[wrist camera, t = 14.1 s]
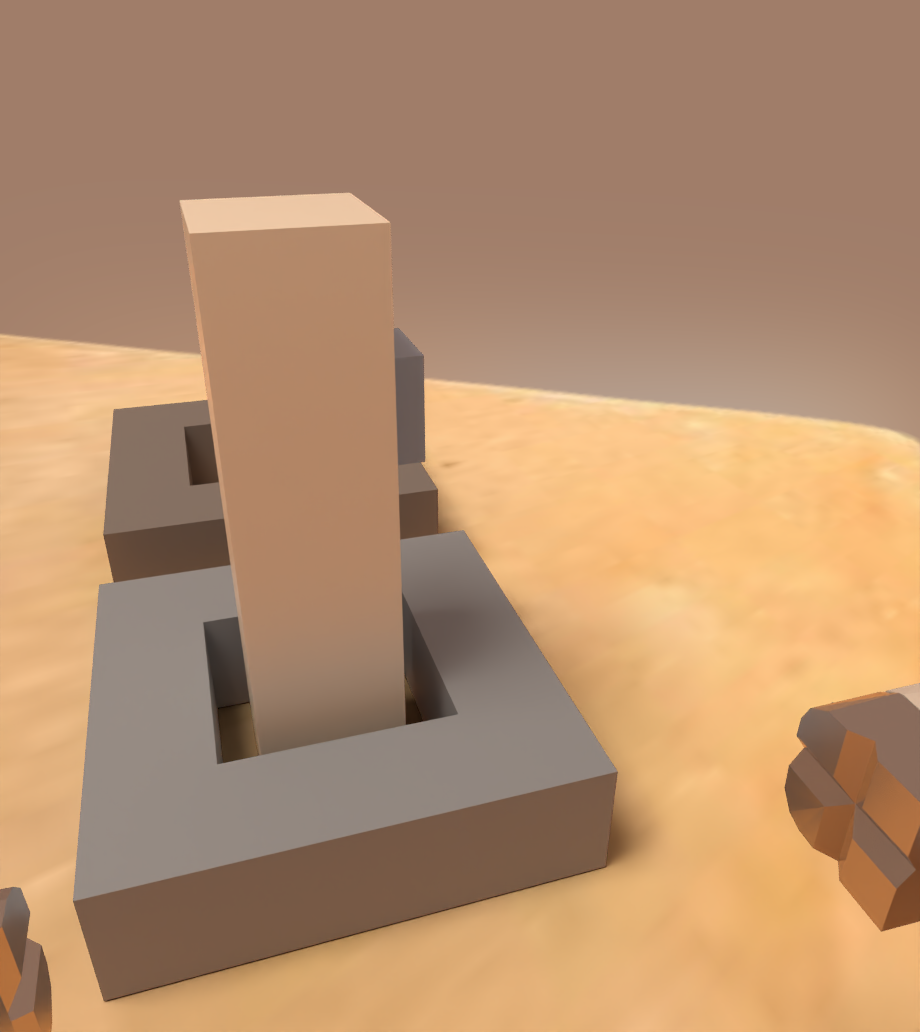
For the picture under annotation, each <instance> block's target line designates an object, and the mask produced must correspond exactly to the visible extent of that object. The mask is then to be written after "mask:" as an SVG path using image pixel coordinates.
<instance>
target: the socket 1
mask: <svg viewBox="0 0 920 1032" xmlns="http://www.w3.org/2000/svg"><path fill="white" fill-rule="evenodd" d="M398 485H399V518H400V540H402V539H408V538H415V537H422V536H428V535H435V534H438V489H437V488H436V486H435V484H434V483H433V481H432V480H431V478H430V477H429V475H428V473H427V472H426V470H425V469H424V467H423V466H422V464H421V463H420V462H419V463H411V464H404V465H398ZM103 535H104V540H105V544H106V549H107V553H108V558H109V563H110V567H111V572H112V576H113V581H114V583H115V582H121V581H128V580H135V579H141V578H148V577H155V576H161V575H168V574H175V573H181V572H188V571H195V570H201V569H208V568H215V567H221V566H228V565H231V564H230V557H229V550H228V543H227V535H226V528H225V521H224V514H223V507H222V500H221V493H220V486H219V478H218V471H217V464H216V457H215V450H214V443H213V436H212V429H211V421H210V414H209V407H208V400H203V401H194V402H184V403H174V404H164V405H154V406H144V407H134V408H124V409H114V413H113V425H112V437H111V450H110V462H109V474H108V486H107V498H106V510H105V522H104V534H103Z"/></svg>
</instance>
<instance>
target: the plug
mask: <svg viewBox="0 0 920 1032" xmlns="http://www.w3.org/2000/svg"><path fill="white" fill-rule="evenodd" d="M180 207H181V215H182V222H183V228H184V236H185V243H186V250H187V258H188V265H189V271H190V279H191V286H192V293H193V300H194V307H195V315H196V322H197V329H198V336H199V342H200V349H201V357H202V364H203V372H204V379H205V386H206V393H207V400H208V407H209V414H210V421H211V429H212V436H213V443H214V450H215V457H216V464H217V471H218V478H219V486H220V493H221V500H222V507H223V514H224V521H225V528H226V535H227V543H228V550H229V557H230V564H231V571H232V578H233V585H234V592H235V600H236V607H237V614H238V621H239V628H240V635H241V642H242V649H243V657H244V664H245V671H246V678H247V685H248V692H249V699H250V706H251V714H252V721H253V728H254V733H255V739H256V744H257V750H258V756H260V755H265V754H270V753H274V752H279V751H284V750H289V749H294V748H298V747H303V746H308V745H313V744H318V743H323V742H327V741H332V740H337V739H342V738H347V737H351V736H356V735H361V734H366V733H371V732H375V731H380V730H385V729H390V728H395V727H400V726H404V725H406V715H405V682H404V650H403V617H402V584H401V551H400V518H399V485H398V465H404V464H411V463H419V462H425V414H424V356H423V354H422V353H421V352H420V351H419V350H418V349H417V348H416V347H415V345H413V343H412V342H411V341H410V340H409V339H408V338H407V337H406V336H405V334H404V333H403V332H402V331H401V330H400V329H399V328H394V321H393V288H392V259H391V258H392V255H391V223H390V222H389V221H388V220H386V219H385V218H383V217H382V216H381V215H379V214H378V213H377V212H375V211H374V210H373V209H371V208H370V207H368V206H367V205H366V204H364V203H363V202H362V201H360V200H359V199H358V198H356V197H355V196H354V195H352V194H351V193H335V194H311V195H288V196H267V197H243V198H221V199H197V200H180Z"/></svg>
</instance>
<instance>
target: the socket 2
mask: <svg viewBox="0 0 920 1032" xmlns="http://www.w3.org/2000/svg"><path fill="white" fill-rule="evenodd" d="M400 551H401V584H402V617H403V650H404V674H405V677H406V679H407V682H408V684H409V687H410V689H411V692H412V694H413V696H414V699H415V701H416V704H417V706H418V709H419V711H420V714H421V716H422V719H423V721H424V722H419V723H414V724H409V725H404V726H400V727H395V728H390V729H385V730H380V731H375V732H371V733H366V734H361V735H356V736H351V737H347V738H342V739H337V740H332V741H327V742H323V743H318V744H313V745H308V746H303V747H298V748H294V749H289V750H284V751H279V752H274V753H270V754H265V755H260V756H255V757H250V758H246V759H241V760H236V761H231V762H226V763H223V758H222V748H221V739H220V729H219V720H218V711H217V708H219V707H225V706H230V705H235V704H240V703H246V702H250V699H249V692H248V685H247V678H246V671H245V664H244V657H243V649H242V642H241V635H240V628H239V621H238V614H237V607H236V600H235V592H234V585H233V578H232V571H231V565H228V566H221V567H215V568H208V569H201V570H195V571H188V572H181V573H175V574H168V575H161V576H155V577H148V578H141V579H135V580H128V581H121V582H115V583H108V584H101V585H99V595H98V607H97V619H96V631H95V643H94V655H93V667H92V679H91V691H90V703H89V715H88V727H87V740H86V752H85V764H84V776H83V788H82V800H81V812H80V824H79V836H78V848H77V860H76V872H75V885H74V897H73V902H74V906H75V909H76V912H77V915H78V919H79V922H80V925H81V928H82V932H83V935H84V938H85V941H86V945H87V948H88V951H89V954H90V958H91V961H92V964H93V967H94V970H95V974H96V977H97V980H98V983H99V987H100V990H101V993H102V996H103V1000H104V1001H106V1000H110V999H114V998H118V997H121V996H125V995H129V994H133V993H136V992H140V991H144V990H147V989H151V988H155V987H159V986H162V985H166V984H170V983H173V982H177V981H181V980H185V979H188V978H192V977H196V976H200V975H203V974H207V973H211V972H214V971H218V970H222V969H226V968H229V967H233V966H237V965H241V964H244V963H248V962H252V961H255V960H259V959H263V958H267V957H270V956H274V955H278V954H281V953H285V952H289V951H293V950H296V949H300V948H304V947H308V946H311V945H315V944H319V943H322V942H326V941H330V940H334V939H337V938H341V937H345V936H349V935H352V934H356V933H360V932H363V931H367V930H371V929H375V928H378V927H382V926H386V925H389V924H393V923H397V922H401V921H404V920H408V919H412V918H416V917H419V916H423V915H427V914H430V913H434V912H438V911H442V910H445V909H449V908H453V907H457V906H460V905H464V904H468V903H471V902H475V901H479V900H483V899H486V898H490V897H494V896H497V895H501V894H505V893H509V892H512V891H516V890H520V889H524V888H527V887H531V886H535V885H538V884H542V883H546V882H550V881H553V880H557V879H561V878H565V877H568V876H572V875H576V874H579V873H583V872H587V871H591V870H594V869H598V868H602V867H605V866H606V859H607V851H608V843H609V835H610V827H611V819H612V812H613V804H614V796H615V788H616V780H617V770H616V768H615V767H614V765H613V764H612V762H611V761H610V759H609V757H608V756H607V754H606V753H605V751H604V750H603V748H602V746H601V745H600V743H599V742H598V740H597V739H596V737H595V735H594V734H593V732H592V731H591V729H590V728H589V726H588V725H587V723H586V721H585V720H584V718H583V717H582V715H581V714H580V712H579V710H578V709H577V707H576V706H575V704H574V703H573V701H572V699H571V698H570V696H569V695H568V693H567V692H566V690H565V688H564V687H563V685H562V684H561V682H560V681H559V679H558V677H557V676H556V674H555V673H554V671H553V670H552V668H551V666H550V665H549V663H548V662H547V660H546V659H545V657H544V655H543V654H542V652H541V651H540V649H539V648H538V646H537V644H536V643H535V641H534V640H533V638H532V637H531V635H530V634H529V632H528V630H527V629H526V627H525V626H524V624H523V623H522V621H521V619H520V618H519V616H518V615H517V613H516V612H515V610H514V608H513V607H512V605H511V604H510V602H509V601H508V599H507V597H506V596H505V594H504V593H503V591H502V590H501V588H500V586H499V585H498V583H497V582H496V580H495V579H494V577H493V575H492V574H491V572H490V571H489V569H488V568H487V566H486V564H485V563H484V561H483V560H482V558H481V557H480V555H479V554H478V552H477V550H476V549H475V547H474V546H473V544H472V543H471V541H470V539H469V538H468V536H467V535H466V533H465V532H464V530H462V531H455V532H448V533H442V534H435V535H428V536H422V537H415V538H408V539H402V540H400Z"/></svg>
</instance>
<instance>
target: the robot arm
mask: <svg viewBox="0 0 920 1032" xmlns="http://www.w3.org/2000/svg"><path fill="white" fill-rule="evenodd" d="M797 737H798V738H799V740H800V742H801V743H802V745H803V746H804V749H803V750H802V751H801V752H800V753H799V754H798V756H797V757H796V758H795V759H794V760H793V761H792V763H791V764H790V765H789V768H788V773H787V779H786V784H785V792H786V797H787V801H788V806H789V811H790V813H791V815H792V817H793V819H794V821H795V823H796V825H797V827H798V829H799V831H800V832H801V833H802V835H803V836H804V837H805V838H806V840H807V841H808V842H809V844H810V845H811V846H812V847H813V848H814V849H816V850H818V851H820V852H822V853H823V854H825V855H827V856H829V857H831V858H833V859H835V860H837V861H838V867H839V881H840V882H841V883H842V884H843V886H844V887H845V888H846V889H847V890H848V892H849V893H850V894H851V895H852V897H853V898H854V899H855V900H856V901H857V903H858V904H859V905H860V906H861V908H862V909H863V910H864V911H865V912H866V914H867V915H868V916H869V917H870V919H871V920H872V921H873V922H874V923H875V925H876V926H877V927H878V928H879V930H880V931H881V932H882V931H885V930H889V929H893V928H896V927H900V926H904V925H908V924H911V923H915V922H919V921H920V683H918V684H914V685H909V686H905V687H901V688H896V689H892V690H888V691H886V692H877V693H873V694H869V695H865V696H860V697H856V698H852V699H848V700H843V701H839V702H835V703H831V704H827V705H822V706H818V707H814V708H810V709H809V711H808V712H807V713H806V714H805V715H804V716H803V717H802V718H801V721H800V725H799V729H798V732H797ZM29 917H30V911H29V908H28V906H27V903H26V901H25V898H24V896H23V893H22V891H21V888H17V887H10V888H5V889H0V1032H51V1030H52V1000H51V984H50V978H49V972H48V966H47V962H46V959H45V955H44V952H43V949H42V946H41V945H40V944H38V943H36V942H34V941H32V940H30V939H28V938H27V932H28V924H29Z"/></svg>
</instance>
